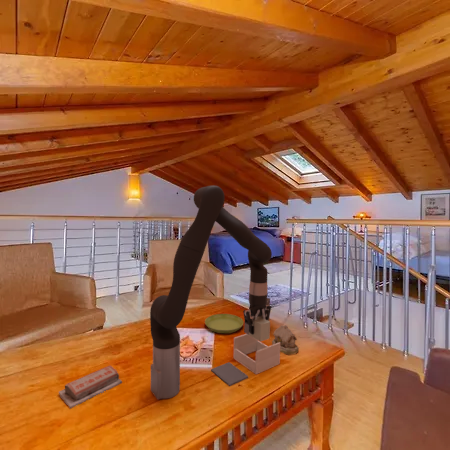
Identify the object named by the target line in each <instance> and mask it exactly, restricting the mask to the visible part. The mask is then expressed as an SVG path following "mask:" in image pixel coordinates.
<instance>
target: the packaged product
mask: <svg viewBox="0 0 450 450" xmlns="http://www.w3.org/2000/svg"><path fill="white" fill-rule="evenodd" d="M122 383H123V381H122V380H121V379H120V375H119V373H118V371H117V369H116V368H114V367H113V366H112V365H107V366H105V367H103V368H100V369H97V370H96V371H94V372H90V373H89V374H86V375H84V376H81V377H80V378H78V379H75V380H73V381H71V382H68V383H66V384H65V385H64V388H63V389H62V390H59V391H58V395H60V396H59V397H60V398H61V399H62V401H63V400H64V401H63V402H64V403H65V404H66V406H67V405H68V406H69V407H68V406H67V407H68V408H69V409H73V408H75V407H77V406H79V405H80V404H82V403H83V402H86V400H87V401H89V400H91V399H93V398H95V397H97V396H99V395H101V394H103V393H105V392H107V391H109V390H111V389H113V388H114V387H116V386H119V385H120V384H122ZM106 390H107V391H106ZM104 391H105V392H104ZM100 393H101V394H100ZM98 394H99V395H98ZM96 395H97V396H96ZM94 396H95V397H94ZM92 397H93V398H92ZM90 398H91V399H90ZM88 399H89V400H88ZM78 404H79V405H78ZM76 405H77V406H76ZM74 406H75V407H74ZM72 407H73V408H72Z"/></svg>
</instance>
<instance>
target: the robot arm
mask: <svg viewBox="0 0 450 450" xmlns="http://www.w3.org/2000/svg"><path fill="white" fill-rule="evenodd" d="M193 203H194V204H195V205H194V206H195V207H196V208H197V209H198V211H197V213H196V216H195V218H194V220H193V221H192V223H191V225H190V227H188V229H187V231H186V232H185V233H184V235H183V236H182V238H181V240H180V241H179V244H178V246H177V249H176V252H175V254H174V258H173V265H172V282H171V286H170V289H169V292H168V295H166V294H164V295H163V294H162V295H159V296H158V297H156V298H155V299H154V300H153V301H152V303H151V306H150V309H149V310H150V311H149V313H150V314H149V316H150V317H149V319H150V321H149V322H150V324H149V325H150V335H151V339H152V363H151V364H150V392H151V393H152V394H153V396H154V397H155V398H156V400H163V399H165V400H166V399H171V398H173V397H175V396H177V395H178V394H179V393H180V389H181V387H180V386H181V379H180V377H181V334H180V332H179V330H178V328H177V326H178V325H180V324H181V322H182V320H183V318H184V316H185V312H186V310H187V305H188V301H189V297H190V292H191V289H192V286H193V284H194V280H195V278H196V275H197V272H198V269H199V267H200V264H201V262H202V259H203V257H204V253H205V251H206V247H207V244H208V242H209V239H210V237H211V234H212V231H213V228H214V225H215V223H217V224H218V225H219V226H220V227H221V228H222V229H224V230H225V231H226V232H227V233H228V234H229V235H230V236H231V237H232V238H233V240H235V241H236V242H237V243H238V244H239V245H240V247H242V248H244V249H246V250H247V259H248V265H249V269H250V274H249V275H250V278H249V288H248V289H249V291H248V304H249V306H248V309H247V310H245V309H243V312H242V313H243V319H244V324H245V323H246V324H248V325H249V333H250V334H252V335H253V334H254V324H255V321H256V320H257V317H261V318H262V319H265V320H269V321H270V315H271V311H272V305H270V306H269V305H266V304H267V298H268V289H269V288H268V273H269V272H268V269H267V267H265V265H264V263H266V262H269V261H271V258H272V256H273V255H272V254H273V253H272V249H271V248H270V246H269V244H267V243H266V242H265V241H263V240H262V239H261V238H260V237H258V236H257V235H255V234H254V232H253V231H252V230H251V229H250V227H248V226H247V225H246V224H245V223H244V222H243V221H241V219H239V218H237V217H236V216H234V215H233V214H231V213H230V212H229V211H228V210H227V209H226V208H224V207H223V206H224V204H225V192H224V191H223V189H222V188H221V187H220V186H218V185H207V186H203V187H200V188H198V189H197V190H196V191H195V192H194V195H193ZM266 314H267V317H266ZM252 316H254V317H252ZM251 320H253V321H252V322H251Z"/></svg>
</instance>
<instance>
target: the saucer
mask: <svg viewBox="0 0 450 450" xmlns="http://www.w3.org/2000/svg"><path fill="white" fill-rule="evenodd" d="M204 324H205V326H206V327H207V328H208V329H209V330H210V331H212V332H213V333H217V334H232V333H236V332H237V331H239V330H240V329H241V328H242V327H243V326H244V324H245V321H244V320H243V319H242V317H240V316H237V315H235V314H231V313H217V314H212V315H209V316H208V317H206V318H205V320H204Z"/></svg>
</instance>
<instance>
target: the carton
mask: <svg viewBox="0 0 450 450" xmlns="http://www.w3.org/2000/svg"><path fill="white" fill-rule="evenodd" d="M251 353H255V360H254V359H253V358H251V357H249V356H248V355H249V354H251ZM233 359H234V360H235V361H236V362H238V363H239V364H241V365H242V366H244V367H245V368H246V369H248V370H249V371H250V372H252V373H253V374H255V375H258V374H260V373H263V372H265V371H267V370H269V369H271V368H273V367H276V366H277V365H280V363H281V351H280V342H279V343H276V344H273V345H272V344H271V345H269V346H268V345H266V344H265V343H264V342H262V341H261V342H260V341H259V340H257V339H255V338H253V337H252V336H250V335H248V334H246V333H245V334H241V335H238V336H235V337H233Z"/></svg>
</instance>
